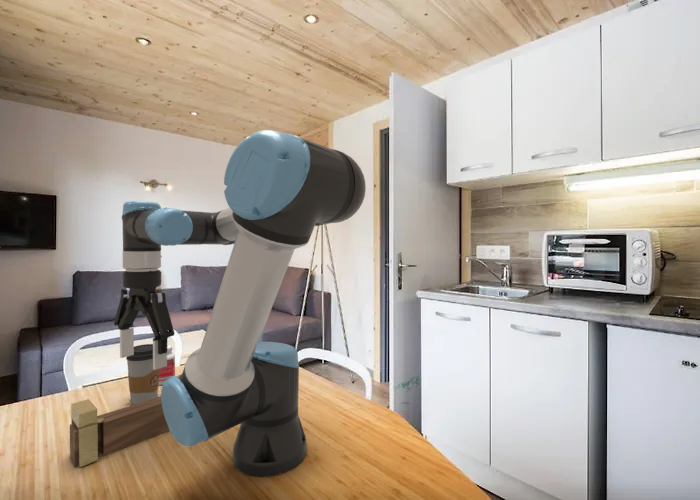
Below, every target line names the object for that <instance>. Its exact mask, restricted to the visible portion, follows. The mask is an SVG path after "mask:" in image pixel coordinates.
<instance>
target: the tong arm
mask: <svg viewBox="0 0 700 500" xmlns="http://www.w3.org/2000/svg"><path fill="white" fill-rule="evenodd" d="M104 419H105V421H104V422H102V423H101V452H100V453H101V454H102V455H103V457H104V456H107V455H110V454H112V453H115V452H118V451H121V450H123V449H125V448H128V447H130V446H133V445H136V444H137V443H138V444H139V443H140V442H143V441H146V440H148V439H150V438H153V437H156V436H158V435H161V434H163V433H166V432H168V431H169V432H170V429H169V427H168V425H167V422H166V420H165V416H164V413H163V408H162V402H161V400H159V401H156V402H153V403H150V404H147V405H144V406H141V407H138V408H135V409H132V410H129V411H125V412H122V413H119V414H116V415H113V416H110V417H107V418H104Z"/></svg>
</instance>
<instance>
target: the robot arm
mask: <svg viewBox="0 0 700 500" xmlns="http://www.w3.org/2000/svg"><path fill="white" fill-rule="evenodd" d="M223 179H224V180H223V185H225V186H226V188H225V189H224V191H223V192H224V198H225V200H226V203H227V206H228V208H225V209H223V210H219V211H216V212H208V211H207V212H206V211H205V212H204V211H194V210H193V211H192V210H181V209H178V208H175V207H174V208H172V207H171V208H169V207H161V205H160V204H159V203H158V202H154V201H145V200H128V201H125V202H123V205H122V215H121V220H122V222H121V223H122V269H124V270H125V271H123V272H122V287H123V288H121V289H120V300H119V303H118V307H117V311H116V315H115V318H114V321H113V324H114V326H117V327H118V330H119V358H121V359H123V358H127V356H131V355H134V347H135V344H134V343H135V341H134V340H135V337H134V335H135V332H134V329H135V328H134V327H135V326H134V322H135V320H136V318H137V316H138V315H139V312H141V313H142V314H143V315H145V317H146V320H147V323H148V324H149V326H150V329H151V331H152V333H153V336H154V337H153V339H152V344H153V369H154V370H156V369H159V368H162V367H166V366H167V345H168V339H169V338H170V337H174V336H175V329H174V327H173V324H172V323H173V322H172V320H171V315H170V313H169V308H168V306H167V301H166V299H167V298H166V297H167V296H166V293H165V292H157V290H156V288H157V287H160V286H161V285H162V271H161V270H160V268H161V267H162V246H167V247H168V246H171V247H172V246H177V245H178V246H180V245H181V246H182V245H184V246H186V245H189V246H190V245H192V246H193V245H194V246H195V245H199V246H200V245H223V246H229V245H230V246H231V245H233V246H232V249H231V253H230V256H229V259H228V263H227V266H226V268H225V271H224V275H223V277H222V281H221V284H220V287H219V290H218V292H217V296H216V299H215V302H214V305H213V309H212V311H211V315H210V317H209V320H208V324H207V327H206V331H205V333H204V337H203V339H202V342H201V345H200V347H199V348H198V349H197V348H196V350H194V351H193V352H191V354H190V355H189V356H188V357H187V359H186V361H185V364H184V367H183V370H182V373H181V374H178V375H175V376H172V378H169V379H167V380H166V381H165V382H164V384H163V385H161V391H160V392H161V393H160V396H161V402H162V408H163V413H164V416H165V420H166V422H167V425H168V427H169V429H170V430H169V432H170V434H171V435H172V436H173V438H174V439H175V441H176V442H177V443H179V444H180V446H184V447H193V446H196V445H197V444H200V443H202V442H208V441H209V440H211V439H212V438H214V437H216V436H218V435H220V434H222V433H224V432H226V431H228V430H231V429H232V428H234V427H236V426H238V425H239V428H238V431H237V435H236V438H235V442H234V444H233V448H232V462H233V465H234V467H235V468H236V469H237V470H238V471H239V472H241V473H243V474H244V475H246V476H247V475H248V476H252V477H257V478H258V477H259V478H260V477H262V478H264V477H272V476H273V477H274V476H277V475H281V474H284V473H287V472H288V471H291V470H293V469H294V468H296V467H297V466H298V465H299V464H300V463H301V462H302V461H303V460H304V458H305V457H306V455H307V436H306V433H305V430H304V428H303V424H302V421H301V419H300V415H299V387H300V386H299V380H300V379H299V376H300V375H299V374H300V365H299V354H298V351H297V349H296V348H295V347H294V346H292V345H291V344H286V343H282V342H275V341H260V339H261V336H262V335H263V334H262V333H263V332H264V329H265V326H266V324H267V321H268V320H269V316H270V313H271V311H272V309H273V306H274V304H275V301H276V298H277V296H278V293H279V290H280V288H281V286H282V283H283V281H284V277H285V275H286V272H287V270H288V268H289V265H290V262H291V259H292V256H293V255H294V252H295V250H297V249H300V248H301V247H305V246H306V245H308V243H309V242H310V239H311V236H312V235H313V232H314V229H315V227H318V226H323V225H324V226H325V225H329V224H336V223H337V224H338V223H342V222H344V221H347V220H349V219H350V218H351V217H353V216H354V215H355V214H357V212H358V211H359V210H360V209H361V206H362V205H363V202H364V200H365V196H366V189H367V188H366V179H365V175H364V173H363V171H362V168H361V167H360V165H359V164H358V163H357V161H356V160H354V158H353V157H352V156H351V155H348V154H347V153H345V152H343V151H340V150H338V149H333V148H330V147H327V146H324V145H321V144H319V143H316V142H313V141H310V140H307V139H304V138H302V137H299V136H298V135H293V134H292V133H286V132H281V131H276V130H271V129H263V130H259V131H258V130H257V131H256V132H254V133H252V134H251V135H250V136H249V135H248V136H246V137H245V138H244V139H243V140H242V141H240V143H238V145H237V146H236V147H235V149H234V150H233V152H232V153H231V155H230V157H229V160H228V162H227V164H226V168H225V171H224V177H223Z"/></svg>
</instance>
